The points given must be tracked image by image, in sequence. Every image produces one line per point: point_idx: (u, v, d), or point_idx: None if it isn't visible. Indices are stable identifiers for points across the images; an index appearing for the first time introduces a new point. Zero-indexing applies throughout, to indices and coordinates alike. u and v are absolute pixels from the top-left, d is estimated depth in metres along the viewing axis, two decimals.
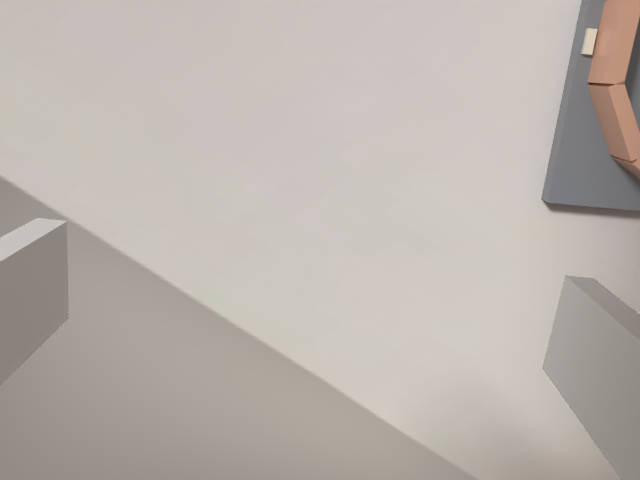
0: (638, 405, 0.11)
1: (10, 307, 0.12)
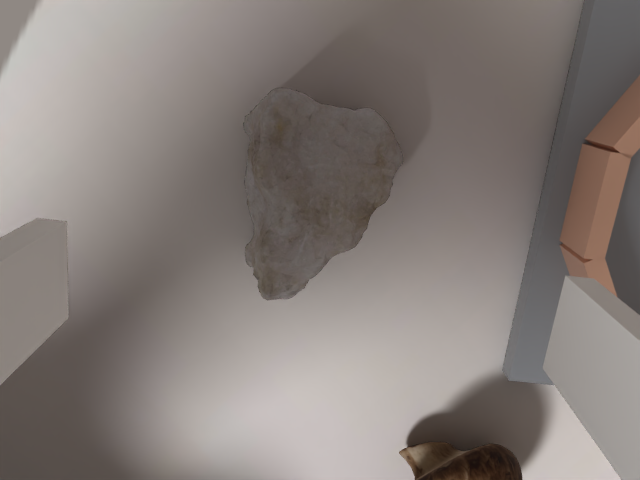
0: (638, 405, 0.11)
1: (10, 307, 0.12)
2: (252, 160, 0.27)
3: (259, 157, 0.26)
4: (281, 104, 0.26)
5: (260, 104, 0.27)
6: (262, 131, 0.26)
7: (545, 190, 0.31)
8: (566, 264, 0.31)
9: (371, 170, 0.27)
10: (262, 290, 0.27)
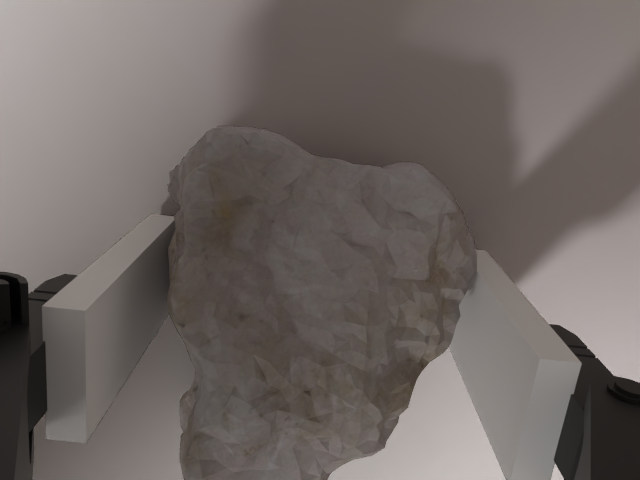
0: (493, 354, 0.13)
1: (146, 292, 0.14)
2: (171, 275, 0.13)
3: (178, 280, 0.12)
4: (226, 163, 0.12)
5: (187, 158, 0.13)
6: (187, 221, 0.12)
7: None
8: None
9: (421, 295, 0.13)
10: None
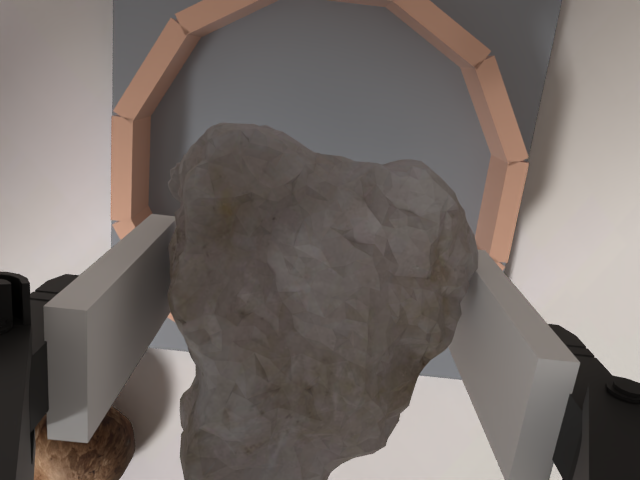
0: (492, 354, 0.13)
1: (147, 292, 0.14)
2: (171, 272, 0.13)
3: (179, 277, 0.12)
4: (228, 159, 0.11)
5: (188, 155, 0.12)
6: (187, 218, 0.12)
7: None
8: None
9: (422, 293, 0.13)
10: None
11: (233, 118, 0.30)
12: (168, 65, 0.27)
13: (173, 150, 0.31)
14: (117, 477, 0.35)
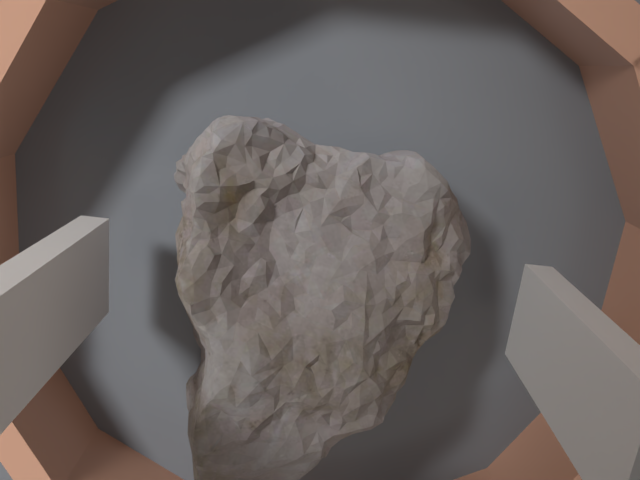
0: (581, 383, 0.12)
1: (63, 300, 0.13)
2: (179, 258, 0.13)
3: (186, 261, 0.12)
4: (232, 150, 0.12)
5: (194, 146, 0.13)
6: (194, 205, 0.12)
7: None
8: None
9: (417, 276, 0.14)
10: None
11: (430, 119, 0.16)
12: (576, 19, 0.13)
13: None
14: None
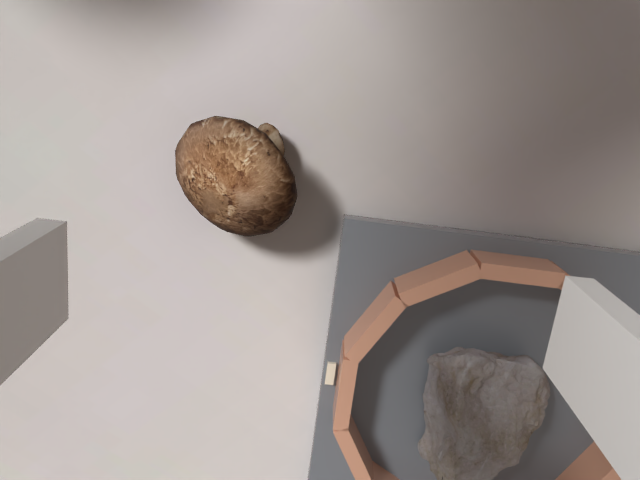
0: (638, 405, 0.11)
1: (10, 307, 0.12)
2: (446, 400, 0.36)
3: (457, 405, 0.35)
4: (473, 367, 0.35)
5: (453, 360, 0.36)
6: (459, 385, 0.35)
7: (507, 236, 0.39)
8: (450, 256, 0.38)
9: (532, 407, 0.37)
10: None
11: (533, 333, 0.39)
12: None
13: (513, 288, 0.39)
14: (218, 226, 0.36)
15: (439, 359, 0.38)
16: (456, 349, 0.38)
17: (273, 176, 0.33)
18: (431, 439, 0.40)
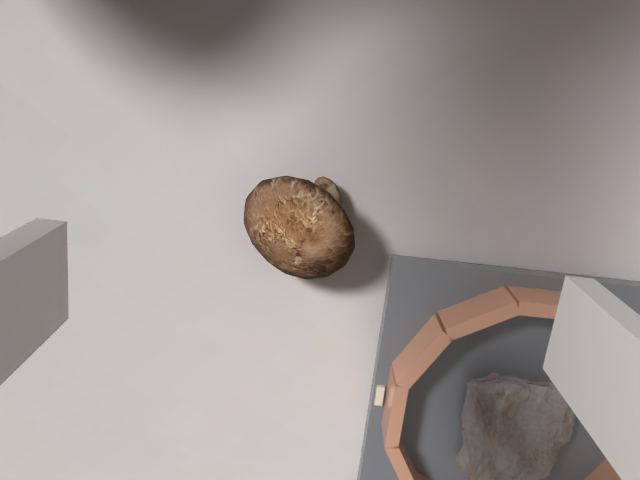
0: (638, 405, 0.11)
1: (10, 307, 0.12)
2: (485, 422, 0.41)
3: (496, 428, 0.40)
4: (511, 394, 0.40)
5: (492, 387, 0.41)
6: (498, 410, 0.40)
7: (539, 272, 0.43)
8: (488, 292, 0.42)
9: (562, 427, 0.41)
10: None
11: None
12: None
13: (544, 318, 0.43)
14: (283, 271, 0.40)
15: (478, 384, 0.42)
16: (492, 375, 0.43)
17: (336, 231, 0.37)
18: (469, 453, 0.45)
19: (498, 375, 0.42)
